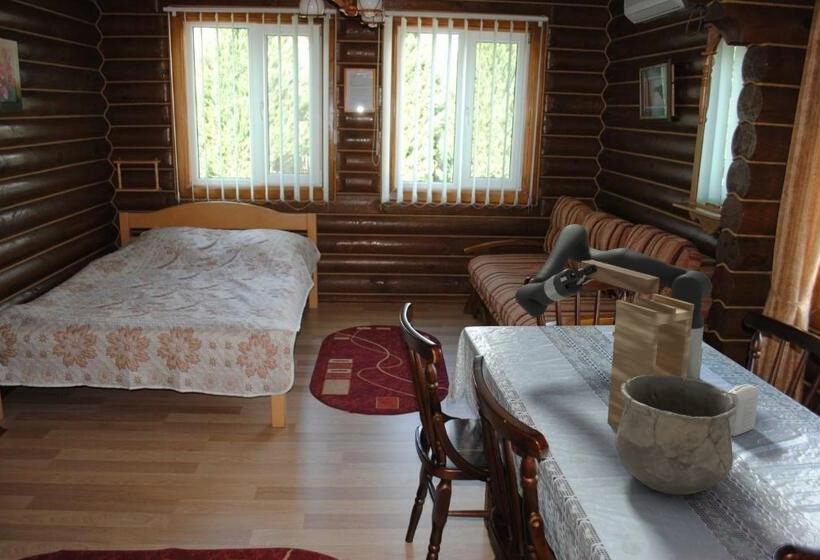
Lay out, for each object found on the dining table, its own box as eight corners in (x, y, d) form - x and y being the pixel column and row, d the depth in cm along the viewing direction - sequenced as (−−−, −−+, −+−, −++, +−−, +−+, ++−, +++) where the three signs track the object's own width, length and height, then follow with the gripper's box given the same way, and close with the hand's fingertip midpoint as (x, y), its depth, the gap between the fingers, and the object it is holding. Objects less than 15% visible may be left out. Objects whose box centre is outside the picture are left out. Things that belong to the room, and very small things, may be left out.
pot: (753, 504, 144) (766, 409, 139) (657, 522, 138) (667, 423, 133) (676, 450, 167) (685, 367, 162) (591, 463, 161) (597, 377, 156)
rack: (644, 411, 189) (655, 293, 181) (681, 428, 179) (694, 304, 171) (606, 422, 182) (616, 300, 174) (642, 440, 172) (654, 312, 164)
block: (591, 273, 194) (592, 259, 193) (658, 293, 174) (659, 277, 173) (580, 275, 192) (581, 261, 191) (646, 295, 172) (648, 279, 171)
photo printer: (741, 422, 183) (746, 379, 180) (756, 428, 179) (762, 384, 176) (718, 432, 177) (723, 387, 174) (733, 438, 174) (739, 393, 171)
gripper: (585, 294, 204) (624, 276, 190) (547, 300, 198) (585, 282, 183) (577, 270, 206) (616, 251, 191) (540, 275, 199) (577, 256, 185)
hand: (601, 266), depth 187 cm, fingers closed on block, 4 cm apart
